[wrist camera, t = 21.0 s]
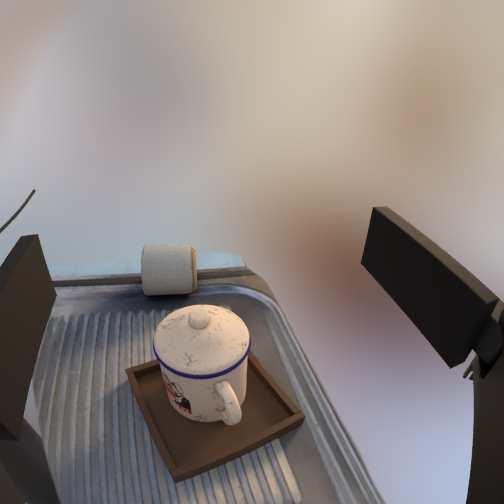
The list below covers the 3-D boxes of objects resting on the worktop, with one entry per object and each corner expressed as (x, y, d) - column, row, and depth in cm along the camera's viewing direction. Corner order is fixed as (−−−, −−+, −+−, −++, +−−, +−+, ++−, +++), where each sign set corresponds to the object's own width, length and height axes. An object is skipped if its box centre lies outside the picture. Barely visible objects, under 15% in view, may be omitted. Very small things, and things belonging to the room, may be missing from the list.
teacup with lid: (156, 373, 35) (137, 296, 29) (226, 352, 39) (225, 274, 33) (193, 459, 26) (176, 396, 20) (276, 427, 30) (290, 355, 24)
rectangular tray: (128, 378, 34) (124, 369, 34) (235, 341, 41) (235, 331, 40) (175, 483, 24) (172, 477, 23) (303, 424, 31) (305, 415, 30)
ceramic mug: (199, 302, 48) (196, 257, 44) (145, 305, 46) (137, 261, 42) (196, 265, 57) (193, 225, 53) (150, 268, 55) (144, 228, 51)
